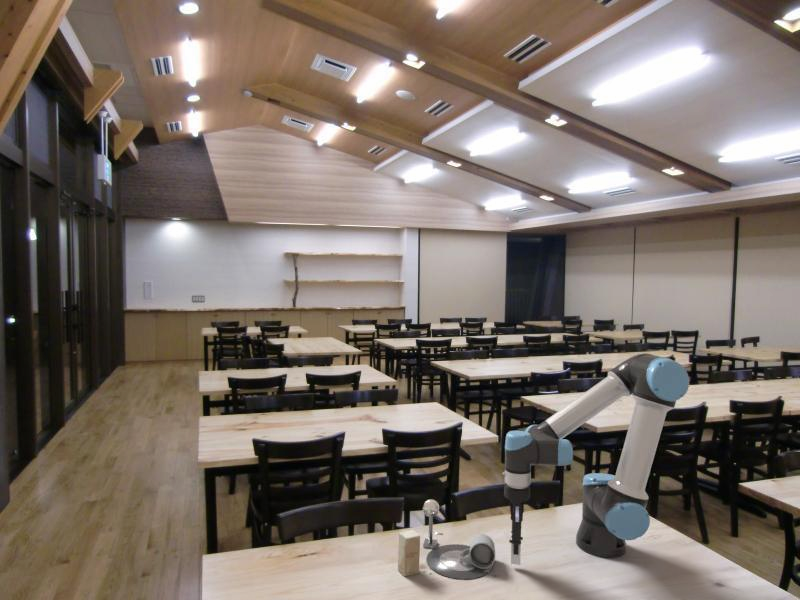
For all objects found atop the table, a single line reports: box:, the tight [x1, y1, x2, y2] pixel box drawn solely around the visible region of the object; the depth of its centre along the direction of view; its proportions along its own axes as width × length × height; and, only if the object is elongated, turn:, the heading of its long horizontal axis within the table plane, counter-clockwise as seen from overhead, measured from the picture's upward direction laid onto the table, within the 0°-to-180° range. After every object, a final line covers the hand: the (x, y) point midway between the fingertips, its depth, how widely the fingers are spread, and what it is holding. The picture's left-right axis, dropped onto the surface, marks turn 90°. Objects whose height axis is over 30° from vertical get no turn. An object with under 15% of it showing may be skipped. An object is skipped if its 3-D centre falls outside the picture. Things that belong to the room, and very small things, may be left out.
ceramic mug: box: [459, 533, 496, 569], centre depth 159 cm, size 11×8×8 cm
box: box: [397, 529, 421, 577], centre depth 153 cm, size 5×4×11 cm
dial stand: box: [422, 499, 444, 550], centre depth 169 cm, size 6×4×14 cm, turn 79°
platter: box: [426, 543, 494, 580], centre depth 159 cm, size 20×20×1 cm
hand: (515, 563), depth 156 cm, fingers closed
